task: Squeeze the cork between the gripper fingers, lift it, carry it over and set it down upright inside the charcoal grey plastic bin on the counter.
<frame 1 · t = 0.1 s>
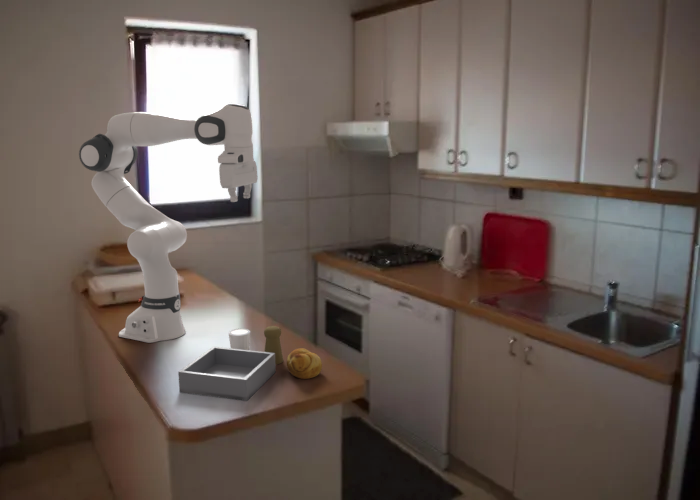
hand: (240, 199, 199), 48 cm above the counter, tool pointing down, fingers open, 8 cm apart
bin: (229, 381, 177), on the counter
bread roll: (303, 373, 184), on the counter
shot glass: (240, 353, 200), on the counter
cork: (273, 361, 193), on the counter
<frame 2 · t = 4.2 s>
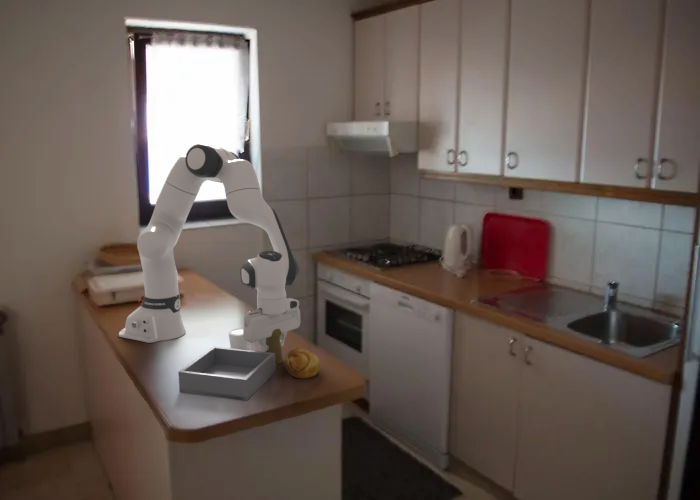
hand: (273, 348, 192), 4 cm above the counter, tool pointing down, fingers closed on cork, 5 cm apart
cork: (273, 361, 193), on the counter, touching gripper
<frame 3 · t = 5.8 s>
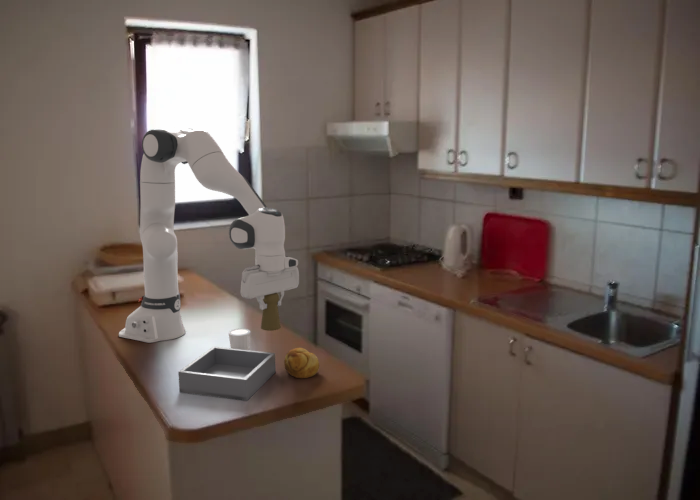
hand: (270, 307, 189), 17 cm above the counter, tool pointing down, fingers closed on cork, 4 cm apart
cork: (270, 328, 190), point 11 cm above the counter, touching gripper
everything else where it was.
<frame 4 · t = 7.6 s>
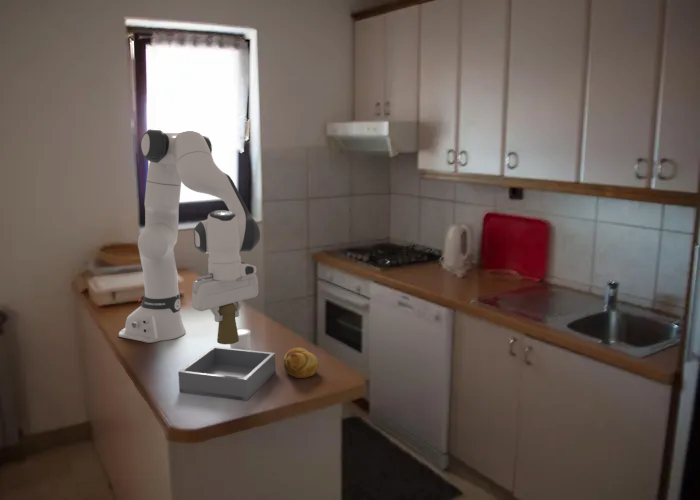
hand: (227, 318, 174), 19 cm above the counter, tool pointing down, fingers closed on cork, 4 cm apart
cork: (228, 341, 175), point 12 cm above the counter, touching gripper
when the fingers open (8 cm above the counter, at t = 9.4 s): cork stays where it is, resting on bin.
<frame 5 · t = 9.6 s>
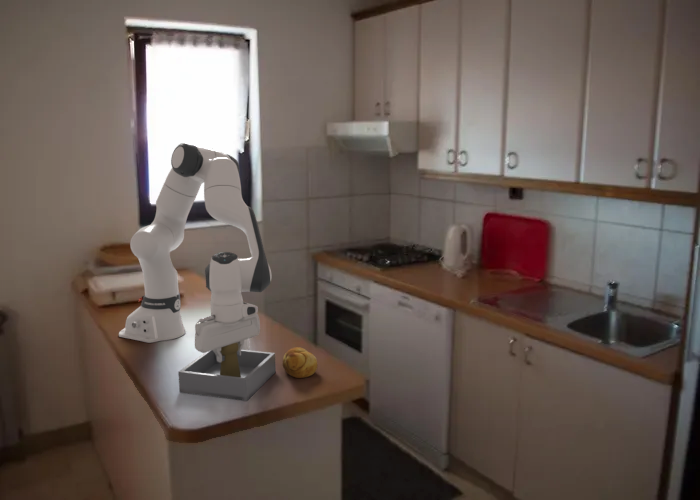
hand: (229, 358, 176), 7 cm above the counter, tool pointing down, fingers open, 4 cm apart
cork: (230, 379, 177), point 1 cm above the counter, touching bin, gripper
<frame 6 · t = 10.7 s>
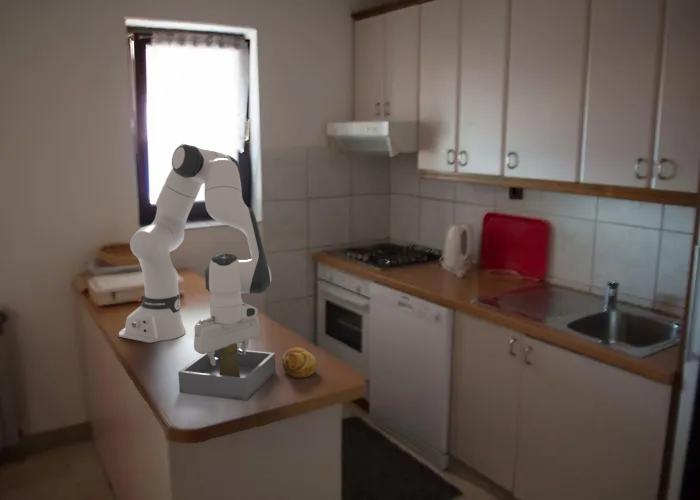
hand: (228, 359, 176), 7 cm above the counter, tool pointing down, fingers open, 8 cm apart
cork: (229, 379, 177), point 1 cm above the counter, touching bin
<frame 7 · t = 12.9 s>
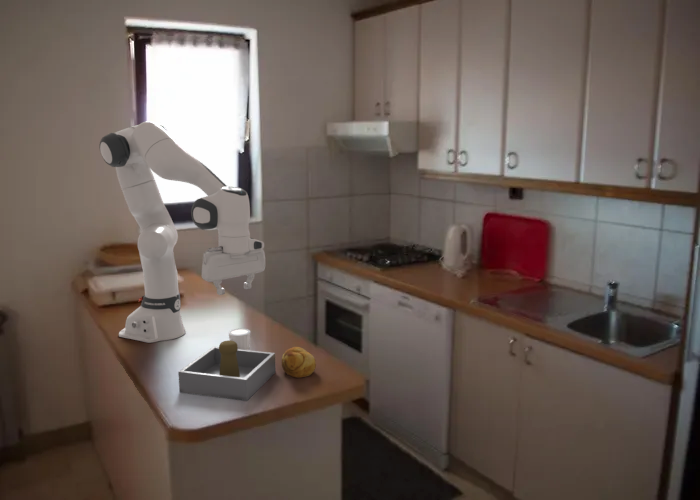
hand: (234, 291, 180), 24 cm above the counter, tool pointing down, fingers open, 8 cm apart
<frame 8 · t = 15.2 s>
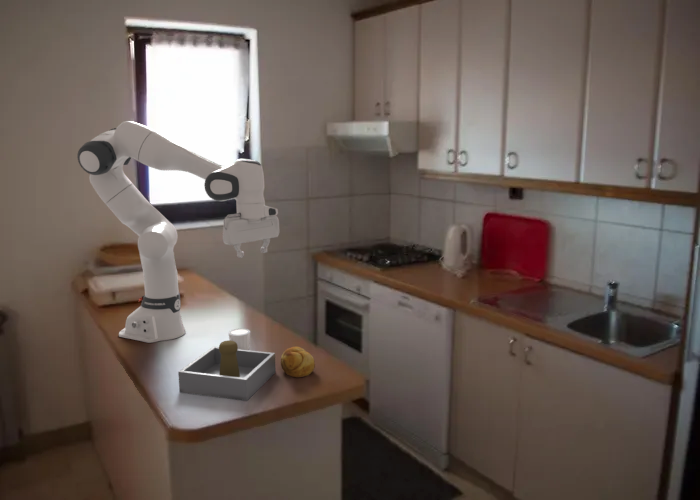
hand: (252, 254, 198), 31 cm above the counter, tool pointing down, fingers open, 8 cm apart
at the end: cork inside the target area on the bin (0.1 cm from its centre), point 0.8 cm above the bin's base; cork tilted 0°; the gripper is holding nothing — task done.
